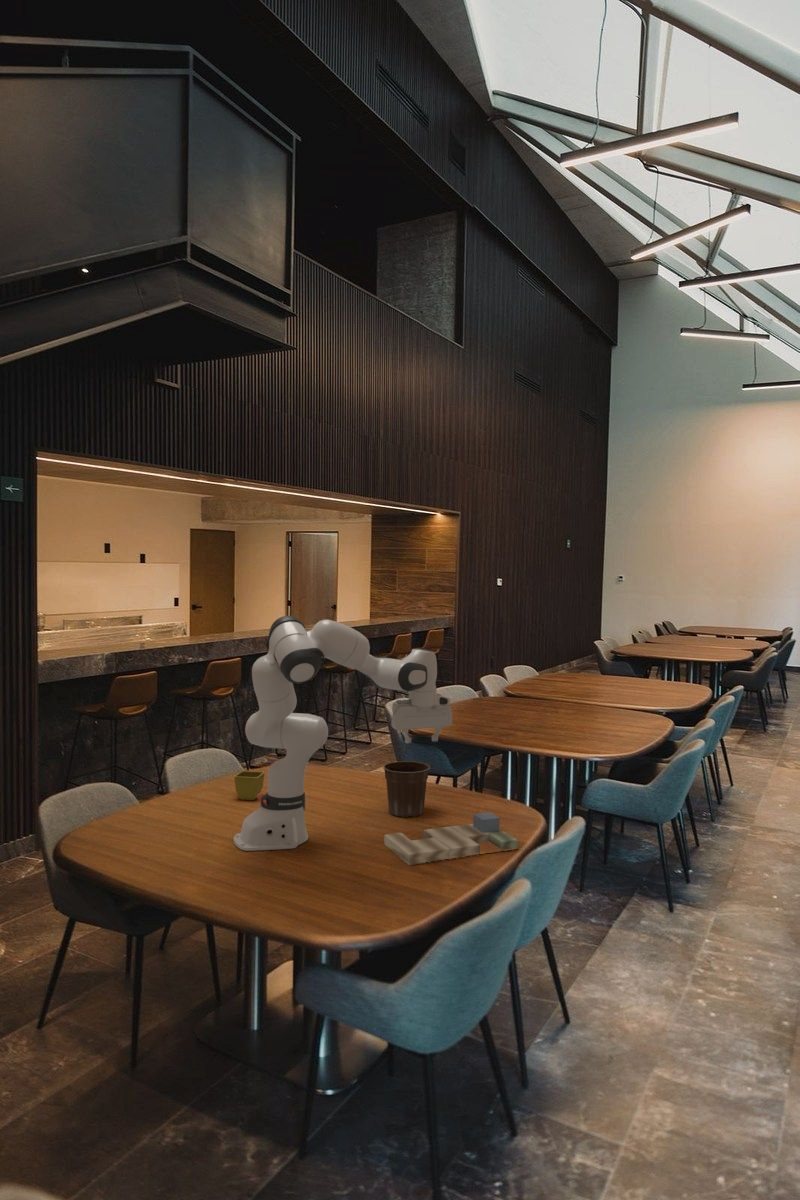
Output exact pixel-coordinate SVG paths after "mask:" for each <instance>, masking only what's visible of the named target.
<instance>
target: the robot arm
mask: <svg viewBox="0 0 800 1200" xmlns="http://www.w3.org/2000/svg"><path fill="white" fill-rule="evenodd" d="M369 641H370V640H369V639H368V638H367V637H366V636H365V635H364V634H362V633H361V632H360V631H358V630H356V629H355V628H353V627H350V626H348V625H346V624H345V623H342V622H339V621H336V620H331V619H321V620H319V621H318V622H317V623H315V624H314V625H313V626H312V628H311V629H310V630H308V631H307V629H306V626H305V625H304V623H303V622H302V621H301V620H300V619H299V618H297V617H295V616H293V615H283V616H280V617H278V618H277V619H276V620H275V621H274V622H272V624H271V625H270V628H269V632H268V637H267V640H266V643H265V646H266V648H267V649H268V652H267V653H266V654H265V655H262V656H260V657H258V658H257V659H256V661H255V662H254V663H253V664H252V667H251V677H252V679H251V680H252V685H253V689H254V693H255V696H256V700H257V704H258V708H259V709H258V711H256V712H254V713H253V714H252V715H250V717H249V718H248V719H247V721H246V724H245V727H244V728H245V729H244V730H245V731H244V733H245V736H246V739H247V741H248V742H249V743H250V744H252V745H255V746H258V747H262V748H267V749H269V748H270V749H281V750H282V749H285V750H286V754H285V757H282V758H281V759H278V760H276V761H274V762H273V763H272V764H271V765H270V766H269V767H268V770H267V792H266V793H265V794H263V793H262V792H260V793H259V794H258V795H257V798H256V799H257V800H258V801H259V802H260V806H259V807H258V808H257V809H255V810H254V811H253V812H251V813H250V814H249V815H247V816H246V817H245V818H244V819H243V823H242V824H241V831H240V832H239V833H235V835H234V837H233V844H234V845H235V846H236V847H237V848H238V849H239V850H242V851H245V852H251V851H252V852H253V851H255V852H257V851H270V850H273V851H274V850H289V849H296V848H297V847H299V845H301V844H303V843H305V842H306V841H308V839H309V835H308V831H307V827H306V820H305V819H306V818H305V811H306V810H305V808H306V793H305V791H304V789H305V788H304V787H305V774H306V768H307V765H308V762H309V760H310V759H311V757H312V756H313V754H314V753H316V752H317V751H319V749H321V748H322V747H323V746H324V744H325V743H326V742H327V740H328V737H329V727H328V724H327V722H326V720H325V719H324V718H323V717H322V716H319V715H314V714H311V713H303V712H302V713H301V712H300V713H298V712H294V710H295V709H296V707H297V701H298V699H297V694H296V692H295V687H294V685H295V684H298V685H300V684H304V683H307V682H309V681H310V680H311V679H312V678H314V677H315V676H316V675H317V674H318V672H319V671H320V669H322V667H324V664H325V660H326V659H328V660H330V661H332V662H333V663H336V664H338V665H341V666H343V667H346V668H349V669H354V670H356V671H357V672H359V673H361V674H363V675H364V676H365V677H366V679H368V681H369V682H370V683H371V685H372V686H374V687H375V688H378V689H388V690H393V691H399V692H400V691H401V692H406V693H407V692H408V699H403V700H401V699H398V700H396V701H395V702H393V704H392V707H391V708H392V709H391V711H392V715H391V721H390V722H391V727H392V728H393V729H394V730H396V731H401V733H402V735H403V736H404V743H405V744H412V737H410V736H409V734H408V733H409V732H410V731H409V730H421V729H434V730H435V732H434V733H433V734H432V735H431V741H432V742H438V741H439V736H440V734H441V733H442V730H443V729H442V728H450V727H451V726H452V724H453V712H452V711H453V709H452V707H451V706H450V705H451V703H452V702H451V698H449V697H447V696H444V695H442V694H440V693H437V686H436V682H437V677H438V664H437V656H436V653H435V651H433V650H430V649H426V648H420V647H415V648H412V649H411V652H410V653H409V654H408V655H407V656H406V657H403V658H401V659H397V658H390V657H385V656H373V655H372V654H370V649H371V646H370V642H369Z"/></svg>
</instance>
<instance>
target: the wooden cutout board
mask: <svg viewBox="0 0 800 1200" xmlns="http://www.w3.org/2000/svg"><path fill="white" fill-rule="evenodd" d="M422 830H423V831H422V838H417V839H410V838H409V837H407V836H406V835H405V834H403V833H402V832H395V833H388V834H387V833H386V834H384V837H383V838H384V839H383V840H384V844H383V845H385V846H386V848H388V849H389V850H390V849H391V850H392V851H391V850H390V851H391V852H392V853H393V854H395V855H396V856H397V855H398V856H399V857H398V856H397V857H398V858H400V860H402V861H403V862H404V863H405V864H406V863H407V864H406V865H408V866H413V865H420V864H421V865H422V864H427V863H426V862H428V863H432V862H431V861H435V862H438V861H437V860H442V861H445V860H444V859H449V860H451V859H450V858H455V857H462V856H468V855H472V854H480V845H479V844H478V843H482V842H488V841H489V842H491V843H492V844H494V845H495V846H497V847H498V848H500V849H501V850H505V849H512V848H518V849H519V847H518V844H519V843H518V842H519V840H518V838H516V837H514V836H512V835H510V834H508V833H507V832H505V831H504V830H502V829H500V828H499V831H492V832H484V833H482V832H480V831H479V830H477V829H476V828H474V827H473V823H468V824H459V825H458V824H457V825H451V826H444V827H442V826H441V827H437V828H427V829H422Z"/></svg>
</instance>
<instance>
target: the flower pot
mask: <svg viewBox="0 0 800 1200" xmlns="http://www.w3.org/2000/svg"><path fill="white" fill-rule="evenodd" d="M264 781H265V772H264V771H252V770H242V771H240V772H238V773H237V774H235V775H234V787H235V791H236V794H237V797H239V799H240V800H241V801H242V800H243V801H254V800H256V799H258V798H257V795H258V794H259V793H262V790H263V787H264Z"/></svg>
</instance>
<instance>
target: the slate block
mask: <svg viewBox="0 0 800 1200" xmlns="http://www.w3.org/2000/svg"><path fill="white" fill-rule="evenodd" d="M472 816H473V817H472V820H473V821H472V824H473V827H474V828H476V829H477V830H479V831H480V832H482V833H484V832H492V831H499V829H500V820H501V819H500V817H499V816H497V815H496V814H494V813H492V812H490V811H489V812H481V813H480V812H479V813H473V815H472Z"/></svg>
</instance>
